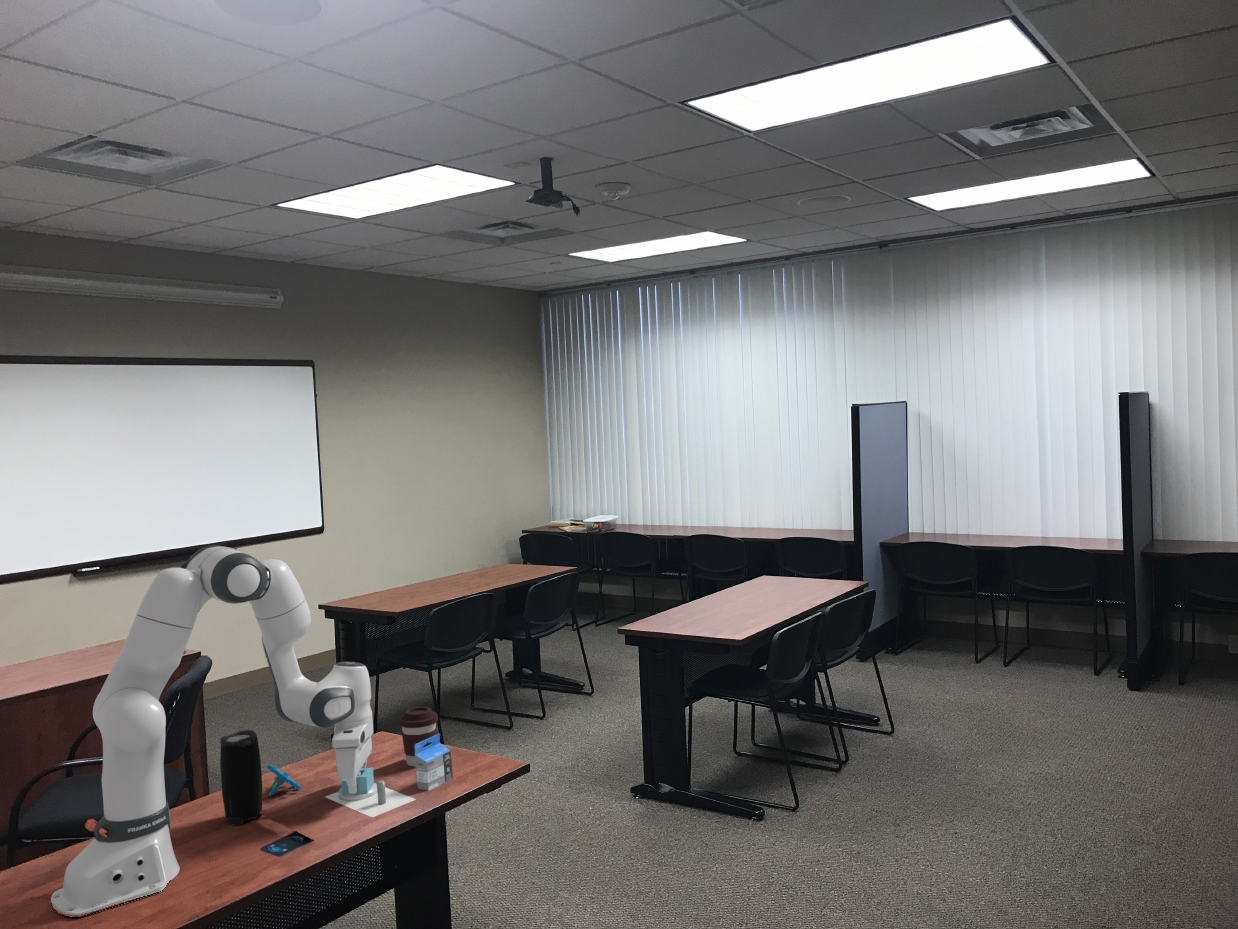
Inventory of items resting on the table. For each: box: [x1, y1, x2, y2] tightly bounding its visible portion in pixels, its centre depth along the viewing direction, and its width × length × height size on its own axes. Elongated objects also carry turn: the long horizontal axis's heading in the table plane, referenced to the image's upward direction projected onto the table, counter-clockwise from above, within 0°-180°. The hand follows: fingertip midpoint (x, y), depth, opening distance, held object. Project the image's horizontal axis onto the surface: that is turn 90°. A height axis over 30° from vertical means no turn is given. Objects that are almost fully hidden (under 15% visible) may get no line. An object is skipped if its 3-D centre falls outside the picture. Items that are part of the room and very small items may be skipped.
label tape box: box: [415, 733, 454, 792], centre depth 223 cm, size 9×4×12 cm, turn 148°
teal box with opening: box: [340, 767, 375, 795], centre depth 219 cm, size 6×6×4 cm
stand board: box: [325, 771, 417, 818], centre depth 216 cm, size 12×20×6 cm, turn 48°
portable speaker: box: [219, 729, 263, 826], centre depth 211 cm, size 9×9×20 cm
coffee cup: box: [398, 706, 439, 767], centre depth 239 cm, size 10×10×15 cm
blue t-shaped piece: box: [266, 763, 302, 797], centre depth 226 cm, size 11×6×10 cm
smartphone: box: [259, 830, 315, 857], centre depth 199 cm, size 8×1×15 cm
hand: (357, 785), depth 219 cm, fingers open, 8 cm apart
